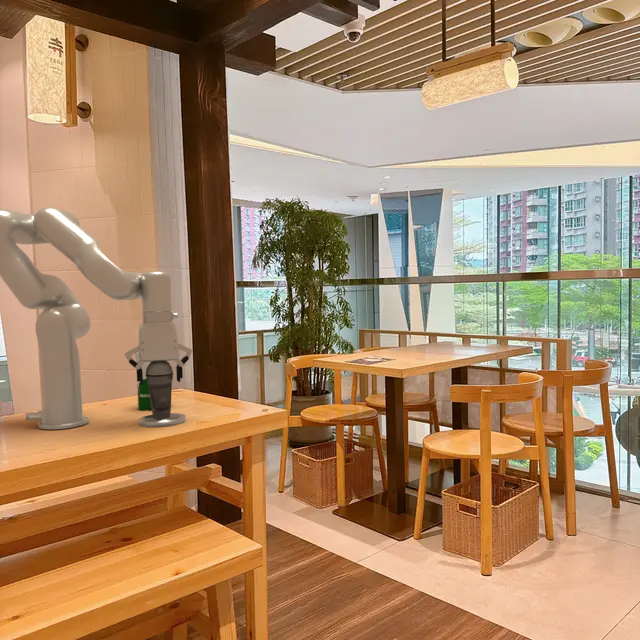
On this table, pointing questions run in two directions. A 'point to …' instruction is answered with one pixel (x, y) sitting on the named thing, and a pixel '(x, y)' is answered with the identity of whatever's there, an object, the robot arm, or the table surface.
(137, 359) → the milk carton
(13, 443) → the table surface
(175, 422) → the flange plate
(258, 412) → the table surface
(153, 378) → the beverage cup
